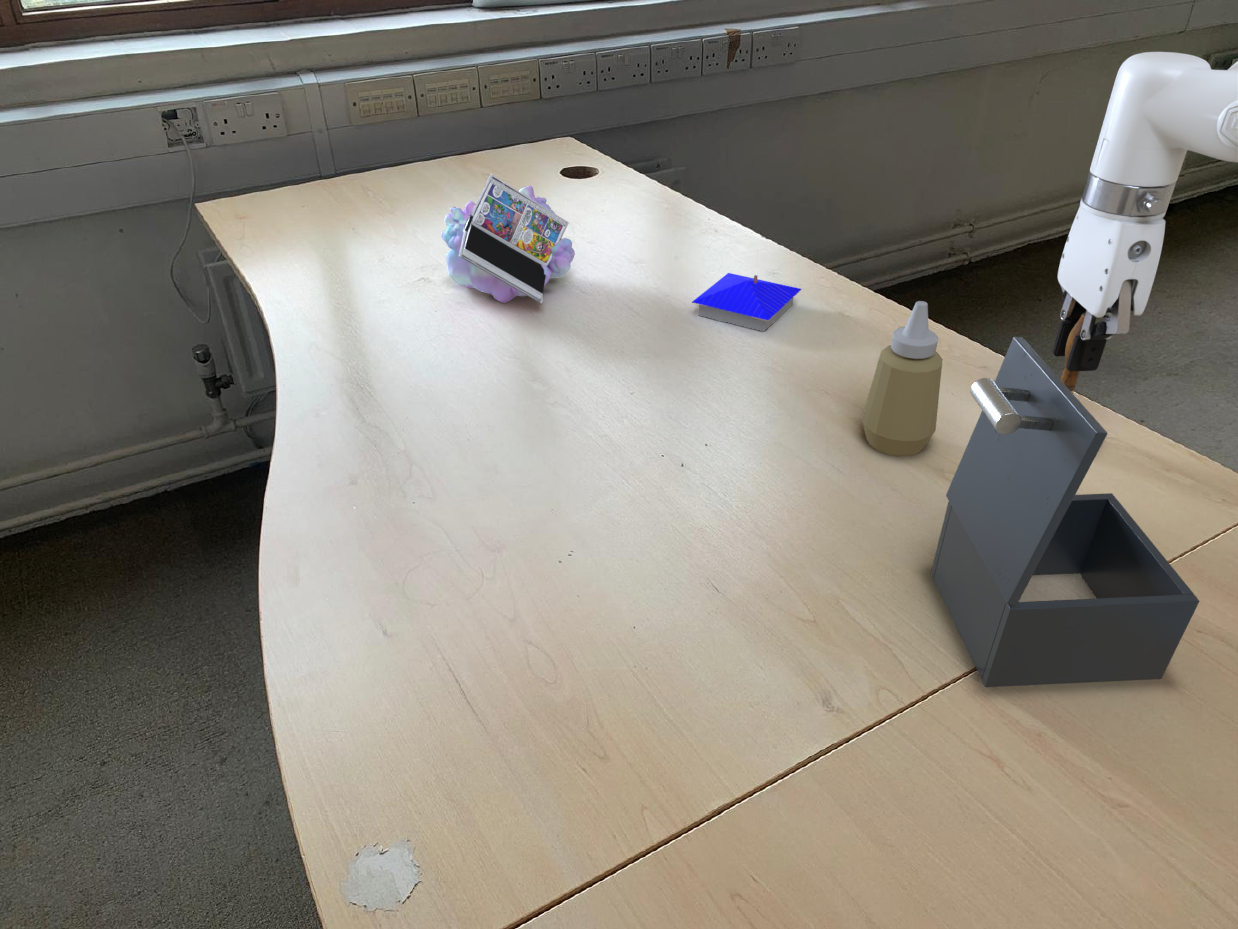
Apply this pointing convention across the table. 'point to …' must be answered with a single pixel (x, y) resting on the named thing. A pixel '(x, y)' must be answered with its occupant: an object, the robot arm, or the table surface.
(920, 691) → the table surface
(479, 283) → the pastel cloud comic display
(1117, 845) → the table surface
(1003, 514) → the bin lid
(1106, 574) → the grey storage bin
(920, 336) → the squeeze bottle
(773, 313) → the roof
